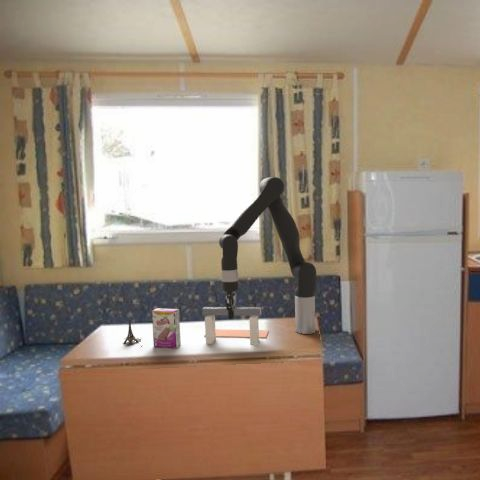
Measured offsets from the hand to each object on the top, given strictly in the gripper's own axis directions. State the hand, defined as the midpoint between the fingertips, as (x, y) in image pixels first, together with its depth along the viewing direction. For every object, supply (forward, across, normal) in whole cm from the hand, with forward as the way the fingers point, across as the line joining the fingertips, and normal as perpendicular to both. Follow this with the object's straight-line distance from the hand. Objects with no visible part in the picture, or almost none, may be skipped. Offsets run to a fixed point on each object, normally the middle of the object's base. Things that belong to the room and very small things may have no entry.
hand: (231, 317), depth 182 cm
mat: (+11, +10, 0) cm, 15 cm away
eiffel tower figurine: (+11, -5, +46) cm, 48 cm away
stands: (+11, 0, 0) cm, 11 cm away
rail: (-1, 0, 0) cm, 1 cm away
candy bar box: (+11, -8, +28) cm, 31 cm away
